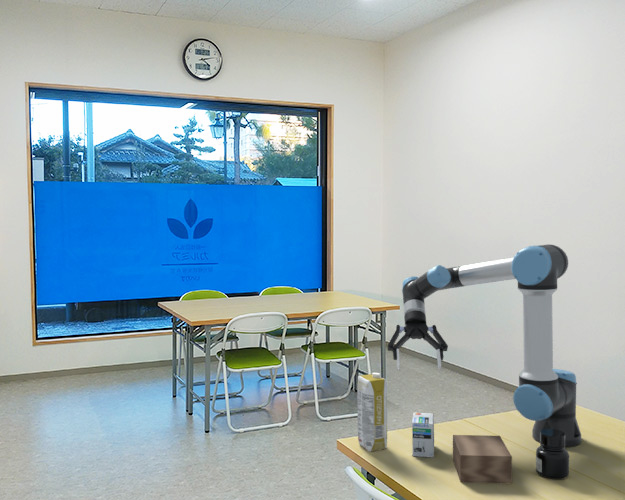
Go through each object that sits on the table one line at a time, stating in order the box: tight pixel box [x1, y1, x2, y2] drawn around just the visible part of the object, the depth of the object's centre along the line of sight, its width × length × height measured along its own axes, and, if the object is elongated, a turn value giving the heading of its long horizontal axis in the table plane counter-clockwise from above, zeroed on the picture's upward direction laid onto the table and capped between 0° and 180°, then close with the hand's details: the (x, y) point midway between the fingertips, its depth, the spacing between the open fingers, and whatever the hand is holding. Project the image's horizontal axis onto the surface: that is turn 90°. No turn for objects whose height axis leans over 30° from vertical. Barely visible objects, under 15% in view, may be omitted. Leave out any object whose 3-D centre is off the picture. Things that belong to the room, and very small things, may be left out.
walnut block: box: [452, 434, 513, 485], centre depth 180 cm, size 14×16×8 cm
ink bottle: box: [535, 429, 570, 480], centre depth 177 cm, size 10×9×12 cm
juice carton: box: [356, 372, 388, 452], centre depth 199 cm, size 9×8×24 cm
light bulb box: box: [411, 411, 435, 458], centre depth 196 cm, size 11×7×11 cm, turn 168°
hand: (419, 367), depth 205 cm, fingers open, 13 cm apart
